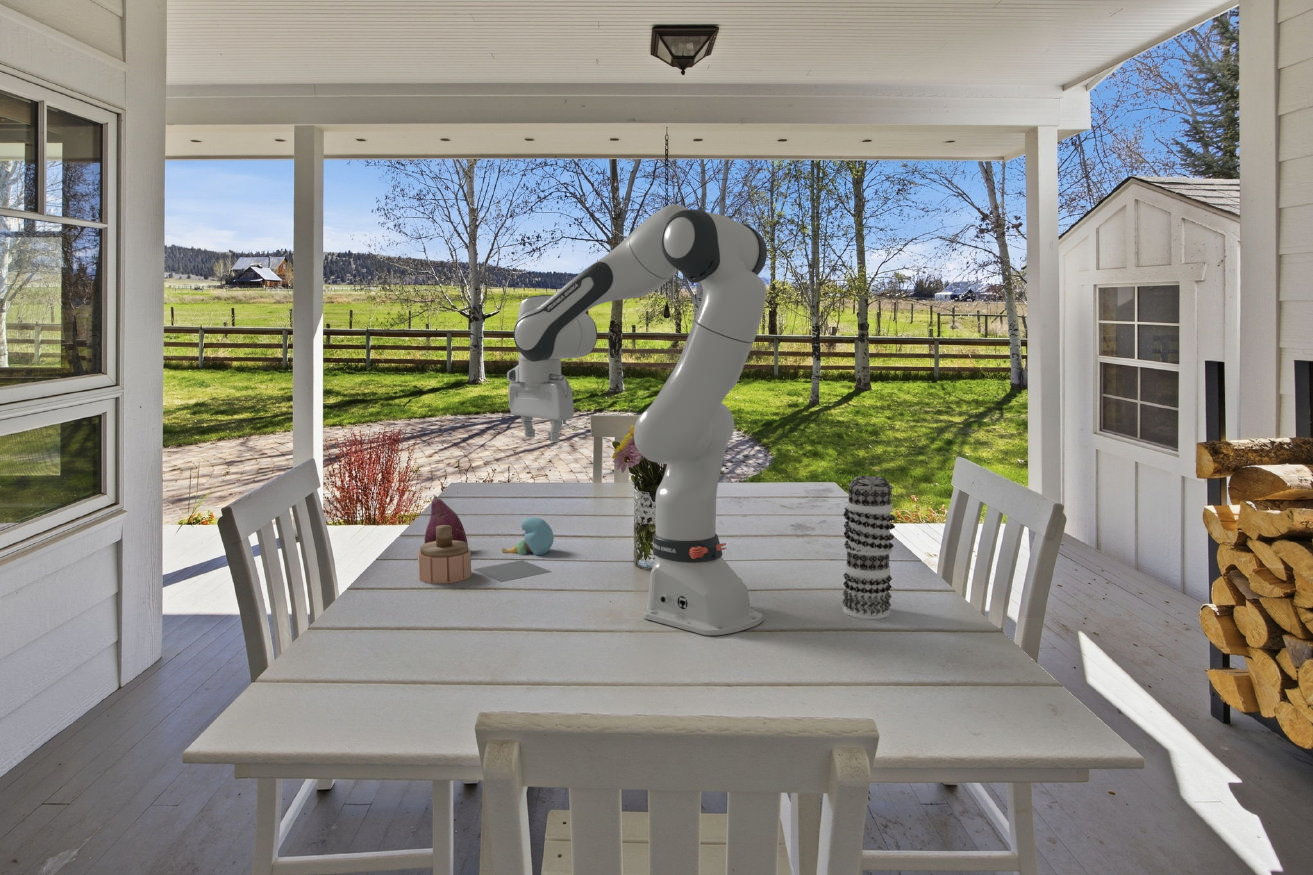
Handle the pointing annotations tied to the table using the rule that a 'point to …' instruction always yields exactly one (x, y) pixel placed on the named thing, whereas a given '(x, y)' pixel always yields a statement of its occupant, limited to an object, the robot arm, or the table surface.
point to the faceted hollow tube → (444, 568)
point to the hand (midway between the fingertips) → (541, 438)
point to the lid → (444, 544)
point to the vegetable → (444, 521)
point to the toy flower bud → (533, 538)
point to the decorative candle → (868, 548)
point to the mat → (512, 570)
